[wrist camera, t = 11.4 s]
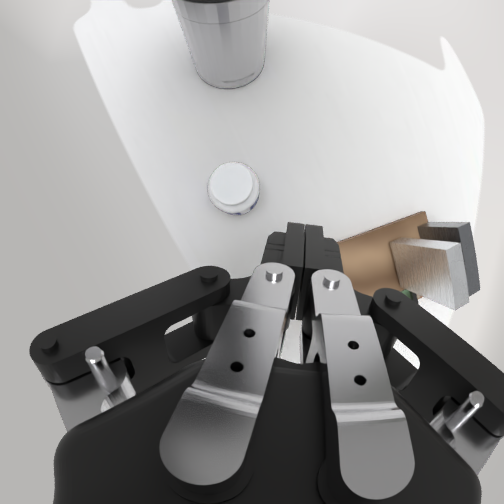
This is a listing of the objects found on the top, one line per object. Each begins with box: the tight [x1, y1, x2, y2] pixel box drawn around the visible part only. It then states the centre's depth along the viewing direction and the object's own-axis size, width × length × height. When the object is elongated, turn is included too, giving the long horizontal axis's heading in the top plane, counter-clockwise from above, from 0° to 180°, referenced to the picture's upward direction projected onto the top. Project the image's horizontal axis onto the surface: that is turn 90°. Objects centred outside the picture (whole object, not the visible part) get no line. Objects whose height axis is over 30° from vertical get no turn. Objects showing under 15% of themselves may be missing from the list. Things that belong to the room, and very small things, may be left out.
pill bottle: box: [208, 162, 260, 215], centre depth 31 cm, size 5×5×9 cm
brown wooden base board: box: [337, 211, 428, 299], centre depth 35 cm, size 11×20×2 cm, turn 109°
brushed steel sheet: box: [390, 237, 469, 310], centre depth 28 cm, size 9×2×12 cm, turn 19°
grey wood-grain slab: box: [417, 222, 480, 296], centre depth 30 cm, size 8×2×9 cm, turn 19°
